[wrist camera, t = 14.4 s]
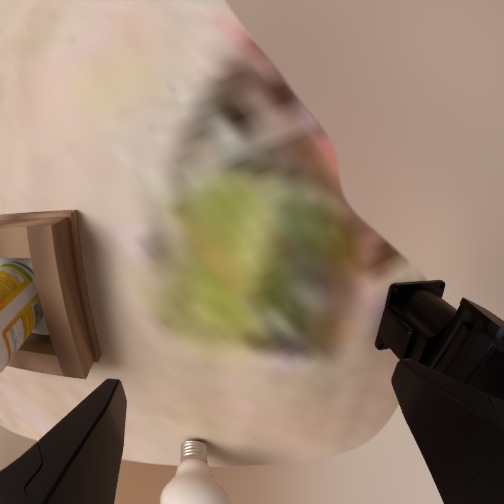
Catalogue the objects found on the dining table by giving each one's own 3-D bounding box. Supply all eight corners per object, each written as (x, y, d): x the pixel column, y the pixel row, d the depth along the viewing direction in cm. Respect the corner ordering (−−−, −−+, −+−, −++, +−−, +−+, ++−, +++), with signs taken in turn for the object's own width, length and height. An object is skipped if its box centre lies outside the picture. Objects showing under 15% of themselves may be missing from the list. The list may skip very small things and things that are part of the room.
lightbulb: (178, 460, 28) (178, 542, 17) (153, 430, 26) (145, 523, 15) (231, 452, 28) (243, 537, 18) (212, 420, 26) (220, 519, 16)
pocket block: (76, 209, 18) (53, 221, 15) (101, 354, 22) (89, 382, 19) (-33, 218, 16) (-58, 229, 13) (-3, 341, 20) (-19, 361, 17)
